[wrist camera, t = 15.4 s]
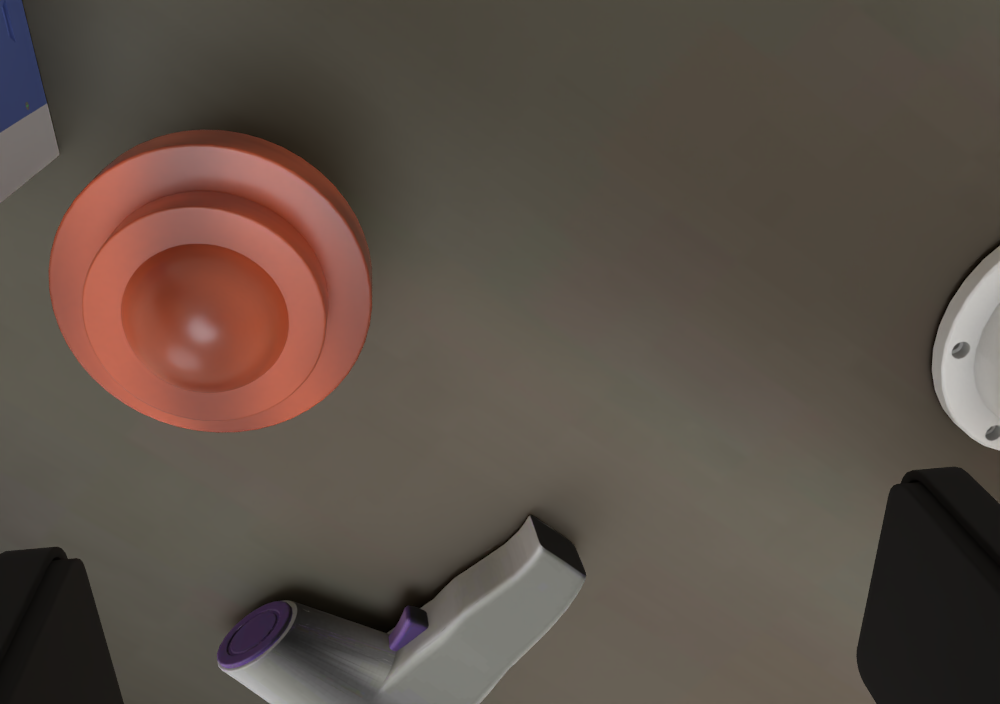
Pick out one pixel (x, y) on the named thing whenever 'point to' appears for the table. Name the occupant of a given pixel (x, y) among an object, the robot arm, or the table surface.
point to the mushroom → (212, 281)
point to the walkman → (21, 104)
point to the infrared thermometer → (413, 634)
